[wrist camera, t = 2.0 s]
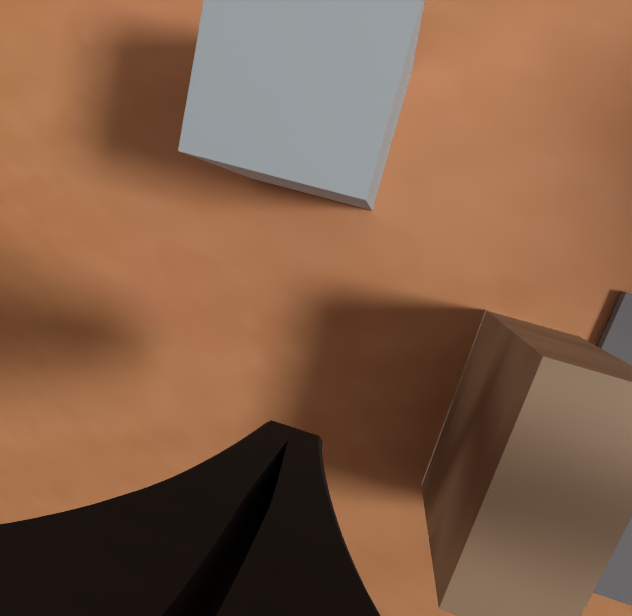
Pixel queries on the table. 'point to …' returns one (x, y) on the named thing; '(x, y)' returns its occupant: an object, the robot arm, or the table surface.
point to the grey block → (301, 91)
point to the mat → (628, 558)
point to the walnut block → (529, 473)
